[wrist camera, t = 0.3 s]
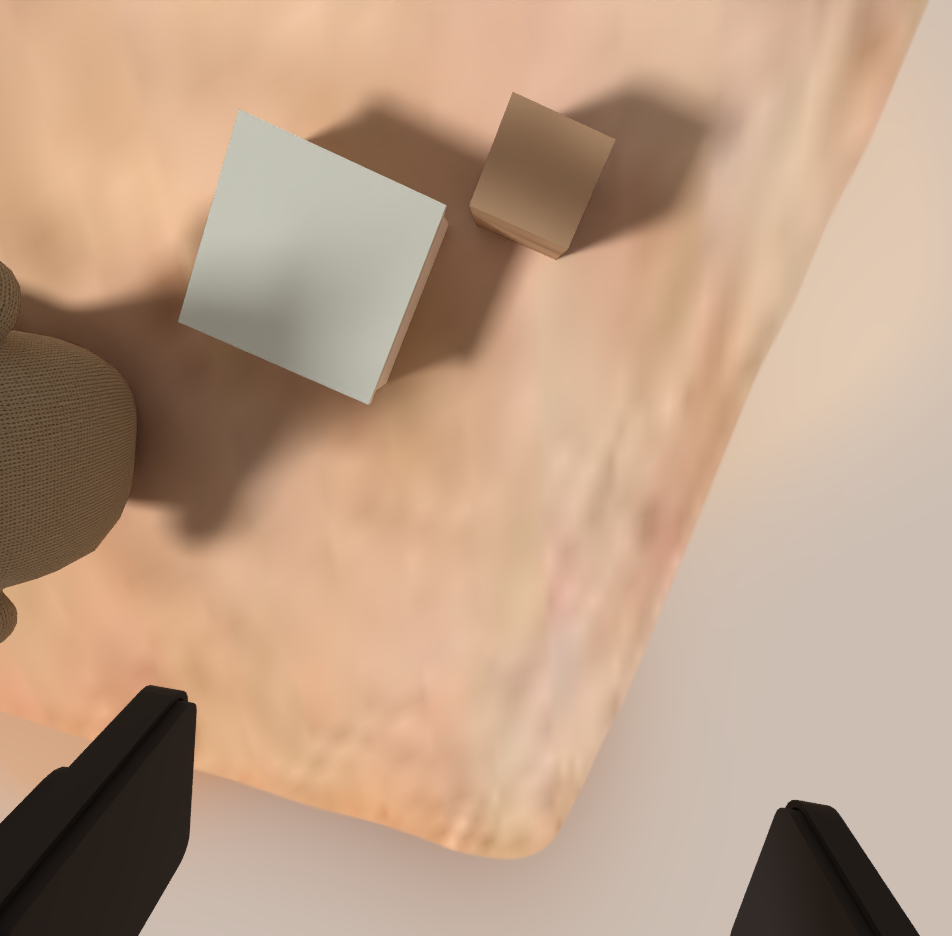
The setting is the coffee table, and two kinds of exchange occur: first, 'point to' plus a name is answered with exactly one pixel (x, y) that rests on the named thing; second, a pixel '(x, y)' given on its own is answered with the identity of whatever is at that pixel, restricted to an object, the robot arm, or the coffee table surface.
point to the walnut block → (539, 177)
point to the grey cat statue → (56, 451)
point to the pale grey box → (311, 260)
